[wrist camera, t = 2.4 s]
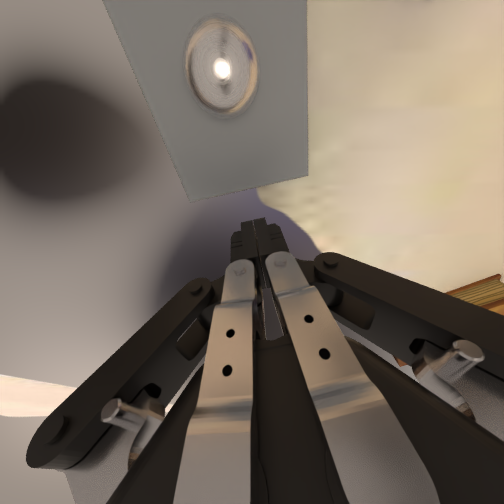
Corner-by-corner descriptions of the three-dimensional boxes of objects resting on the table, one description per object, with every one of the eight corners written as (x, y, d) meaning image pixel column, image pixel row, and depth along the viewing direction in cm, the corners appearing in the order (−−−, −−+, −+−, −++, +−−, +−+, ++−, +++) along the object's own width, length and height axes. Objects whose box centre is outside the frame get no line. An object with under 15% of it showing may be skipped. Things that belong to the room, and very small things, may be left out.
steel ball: (179, 38, 13) (156, 11, 9) (248, 19, 13) (255, -18, 9) (204, 123, 16) (195, 129, 12) (260, 108, 16) (269, 110, 12)
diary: (385, 345, 53) (400, 367, 48) (373, 316, 43) (390, 341, 38) (482, 314, 46) (509, 337, 42) (496, 271, 36) (534, 296, 31)
